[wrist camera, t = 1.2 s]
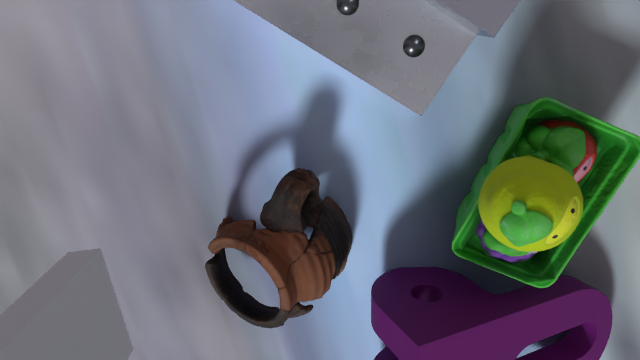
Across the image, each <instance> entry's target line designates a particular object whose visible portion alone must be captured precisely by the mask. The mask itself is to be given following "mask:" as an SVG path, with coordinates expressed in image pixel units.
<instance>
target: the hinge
mask: <svg viewBox="0 0 640 360" xmlns="http://www.w3.org/2000/svg"><path fill="white" fill-rule="evenodd" d="M234 1H236V2H237V3H239V4H241V5H242V6H244V7H245V8H247V9H249V10H250V11H252V12H253V13H255V14H257V15H258V16H260V17H262V18H263V19H265V20H266V21H268V22H270V23H271V24H273V25H275V26H276V27H278V28H279V29H281V30H283V31H284V32H286V33H288V34H289V35H291V36H292V37H294V38H296V39H297V40H299V41H300V42H302V43H304V44H305V45H307V46H309V47H310V48H312V49H313V50H315V51H317V52H318V53H320V54H322V55H323V56H325V57H326V58H328V59H330V60H331V61H333V62H334V63H336V64H338V65H339V66H341V67H343V68H344V69H346V70H347V71H349V72H351V73H352V74H354V75H356V76H357V77H359V78H360V79H362V80H364V81H365V82H367V83H369V84H370V85H372V86H373V87H375V88H377V89H378V90H380V91H381V92H383V93H385V94H386V95H388V96H390V97H391V98H393V99H394V100H396V101H398V102H399V103H401V104H403V105H404V106H406V107H407V108H409V109H411V110H412V111H414V112H415V113H417V114H419V115H420V116H422V114H423V113H424V111H425V110H426V108H427V107H428V105H429V104H430V102H431V101H432V99H433V98H434V96H435V95H436V94H437V92H438V91H439V89H440V88H441V86H442V85H443V83H444V82H445V80H446V79H447V77H448V76H449V74H450V73H451V71H452V70H453V69H454V67H455V66H456V64H457V63H458V61H459V60H460V58H461V57H462V55H463V54H464V52H465V51H466V49H467V48H468V46H469V45H470V43H471V42H472V41H473V39H474V38H475V36H476V35H481V36H487V37H495V36H496V34H497V33H498V31H499V30H500V29H501V27H502V26H503V24H504V23H505V21H506V20H507V19H508V17H509V16H510V14H511V13H512V11H513V10H514V8H515V7H516V6H517V4H518V3H519V1H520V0H234Z"/></svg>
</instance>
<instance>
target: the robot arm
mask: <svg viewBox="0 0 640 360" xmlns="http://www.w3.org/2000/svg"><path fill="white" fill-rule="evenodd" d="M132 350H133V347H132V344H131V340H130V337H129V334H128V331H127V328H126V325H125V322H124V319H123V316H122V313H121V310H120V307H119V304H118V300H117V297H116V294H115V291H114V288H113V285H112V282H111V279H110V276H109V273H108V270H107V267H106V264H105V261H104V257H103V254H102V251H101V249H93V250H85V251H77V252H68V253H67V254H66V255H65V256H64V257H63V258H62V259H61V260H59V261H58V262H57V263H56V264H55V265H54V266H53V267H52V268H51V269H50V270H49V271H48V272H47V273H45V274H44V275H43V276H42V277H41V278H40V279H39V280H38V281H37V282H36V283H35V284H34V285H33V286H32V287H30V288H29V289H28V290H27V291H26V292H25V293H24V294H23V295H22V296H21V297H20V298H19V299H18V300H16V301H15V302H14V303H13V304H12V305H11V306H10V307H9V308H8V309H7V310H6V311H5V312H4V313H2V314H1V315H0V360H127V359H128V357H129V355H130V354H131V352H132Z"/></svg>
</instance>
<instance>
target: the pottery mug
mask: <svg viewBox="0 0 640 360" xmlns="http://www.w3.org/2000/svg"><path fill="white" fill-rule="evenodd" d="M319 185H320V182H319V179H318V178H317V177H316V176H315V174H314V173H313V172H312V171H310V170H305V169H301V168H298V169H295V170H292V171H290V172H289V173H287V174H286V175H285V176H284V177H283V178H282V179H281V181H280V182H279V183H278V185H277V187H276V189H275V191H274V193H273V195H272V198H271V199H270V200H269V201H268V202H266V203H265V204H264V206H263V209H262V212H261V215H260V221H261V223H262V224H263V225H264V226H265V227H266V229H262V230H256V222H255V220H243V221H235V222H232V218H231V216H227V217H226V218H224V219H223V222H222V223H221V224H220V225H219V227H218V231H217V234H216V238H214V239H213V241H212V242H211V243H210V244H209V246H208V249H209V250H210V251H211V252H212V253H213V254H215V256H214V257H213V258H212V259H210V260H208V261H207V262H206V264H205V268H206V271H207V274H208V277H209V279H210V282H211V284H212V286H213V287H214V289H215V291H216V292H217V294H218V295H219V296H220V297H221V299H222V300H224V302H225V303H226V305H227V306H228V307H229V308H230V309H231V310H232V311H233V312H235V313H236V314H237V315H238V316H239V317H241V318H242V319H244V320H246V321H247V322H249V323H251V324H253V325H256V326H260V327H265V328H274V327H279V326H283V325H284V322H285V321H286V320H287V319H288V318H294V317H298V316H300V315H304V314H306V313H308V312H310V311H311V310H312V309H313V305H307V306H304V305H301V304H300V303H299V302H301V301H302V302H306V301H309V300H310V301H312V300H315V299H319V298H322V296H323V295H324V294H325V293H326V292H327V291H328V290H329V289H330V285H331V280H332V279H335V277H336V276H338V275H339V274H340V273H341V272H342V271H343V269H344V267H345V265H346V262H347V257H348V254H349V252H350V249H351V244H352V233H351V229H350V225H349V223H348V220H347V218H346V216H345V214H344V212H343V211H342V209H341V208H340V207H339V206H338V205H337V204H336V203H335V202H334V201H333V200H332V199H331V198H330V197H326V198H325V199H324V200H323V201H322V202H321V199H320V197H319ZM306 226H308V227H313V229H314V230H313V232H312V235H311V238H310V239H309V240H308V238H307V235H306V234H305V233H304V232H303V231H304V230H305V229H306ZM227 247H228V248H235V249H238V250H241V251H244V252H247V253H248V254H249V255H250V256H252V257H253V258H254V259H255V260H256V261H257V262H259V263H260V264H261V266H262V267H263V268H264V269H265V270H266V271H267V272H268V274H269V275H270V277H271V278H272V279H273V281H274V283H275V285H276V287H277V288H278V293H279V296H280V310H279V308H277V307H269V306H266V305H263V304H261V303H259V302H258V301H257V300H255V299H254V298H253V297H252V296H251V295H249V294H248V293H246V292H244V291H243V287H242V286H241V284H240V283H239V281H238V280H237V279H236V278H235V277H234V275H233V274H232V272H231V270H230V269H229V267H228V263H227V260H226V254H225V248H227Z"/></svg>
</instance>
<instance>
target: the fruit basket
mask: <svg viewBox="0 0 640 360" xmlns="http://www.w3.org/2000/svg"><path fill="white" fill-rule="evenodd" d="M639 157H640V137H639V136H637V135H635V134H633V133H630V132H628V131H625V130H623V129H620V128H618V127H615V126H613V125H611V124H608V123H606V122H604V121H601V120H599V119H597V118H595V117H592V116H590V115H588V114H585V113H583V112H581V111H579V110H577V109H574V108H572V107H570V106H568V105H566V104H564V103H561V102H559V101H557V100H555V99H553V98H548V97H544V98H540V99H538V100H535V101H533V102H531V103H527V104H522V105H517V106H516V107H515V108H514V109H513V111H512V113H511V115H510V116H509V118H508V120H507V122H506V124H505V129H504V132H503V133H502V134H501V135H500V136H499V137H498V138H497V140H496V142H495V143H494V145H493V147H492V149H491V151H490V152H489V154H488V159H487V163H485V164H484V165H483V166H482V167H481V169H480V170H479V172H478V174H477V176H476V177H475V179H474V181H473V183H472V185H471V189H470V193H468V194H467V195H466V196H465V197H464V199H463V201H462V202H461V204H460V206H459V208H458V210H457V214H456V228H455V233H454V236H453V241H452V250H453V252H454V254H455V255H457V256H458V257H461V258H463V259H466V260H469V261H472V262H474V263H476V264H478V265H481V266H483V267H486V268H488V269H491V270H493V271H496V272H498V273H501V274H504V275H506V276H508V277H511V278H514V279H516V280H519V281H521V282H523V283H526V284H529V285H531V286H534V287H537V288H546V287H549V286H550V285H552V284H553V283H554V282H555V281H556V280H557V279H558V277H559V275H560V274H561V272H562V271H563V269H564V268H565V266H566V265H567V263H568V262H569V260H570V259H571V257H572V256H573V255H574V253H575V251H576V250H577V248H578V247H579V245H580V244H581V243H582V241H583V239H584V238H585V237H586V235H587V234H588V232H589V231H590V229H591V228H592V226H593V225H594V223H595V222H596V220H597V219H598V218H599V216H600V215H601V213H602V212H603V210H604V209H605V207H606V206H607V204H608V203H609V201H610V200H611V198H612V197H613V195H614V194H615V192H616V191H617V189H618V188H619V187H620V185H621V184H622V182H623V181H624V179H625V178H626V176H627V175H628V173H629V172H630V170H631V169H632V168H633V167H634V165H635V163H636V162H637V160H638V159H639Z"/></svg>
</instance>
